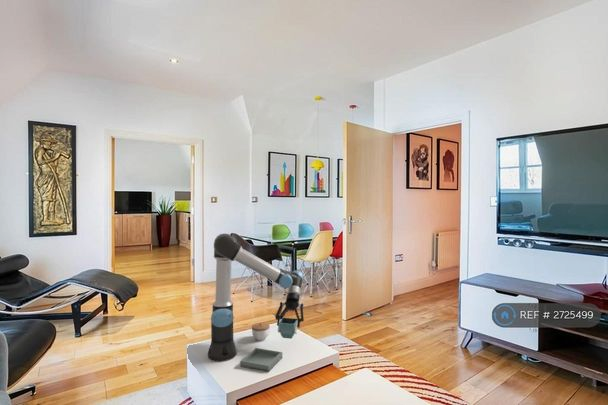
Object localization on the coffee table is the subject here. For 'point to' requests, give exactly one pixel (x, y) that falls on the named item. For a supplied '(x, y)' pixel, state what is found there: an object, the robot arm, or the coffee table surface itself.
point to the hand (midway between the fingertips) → (287, 332)
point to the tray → (261, 359)
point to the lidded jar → (260, 331)
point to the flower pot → (287, 327)
